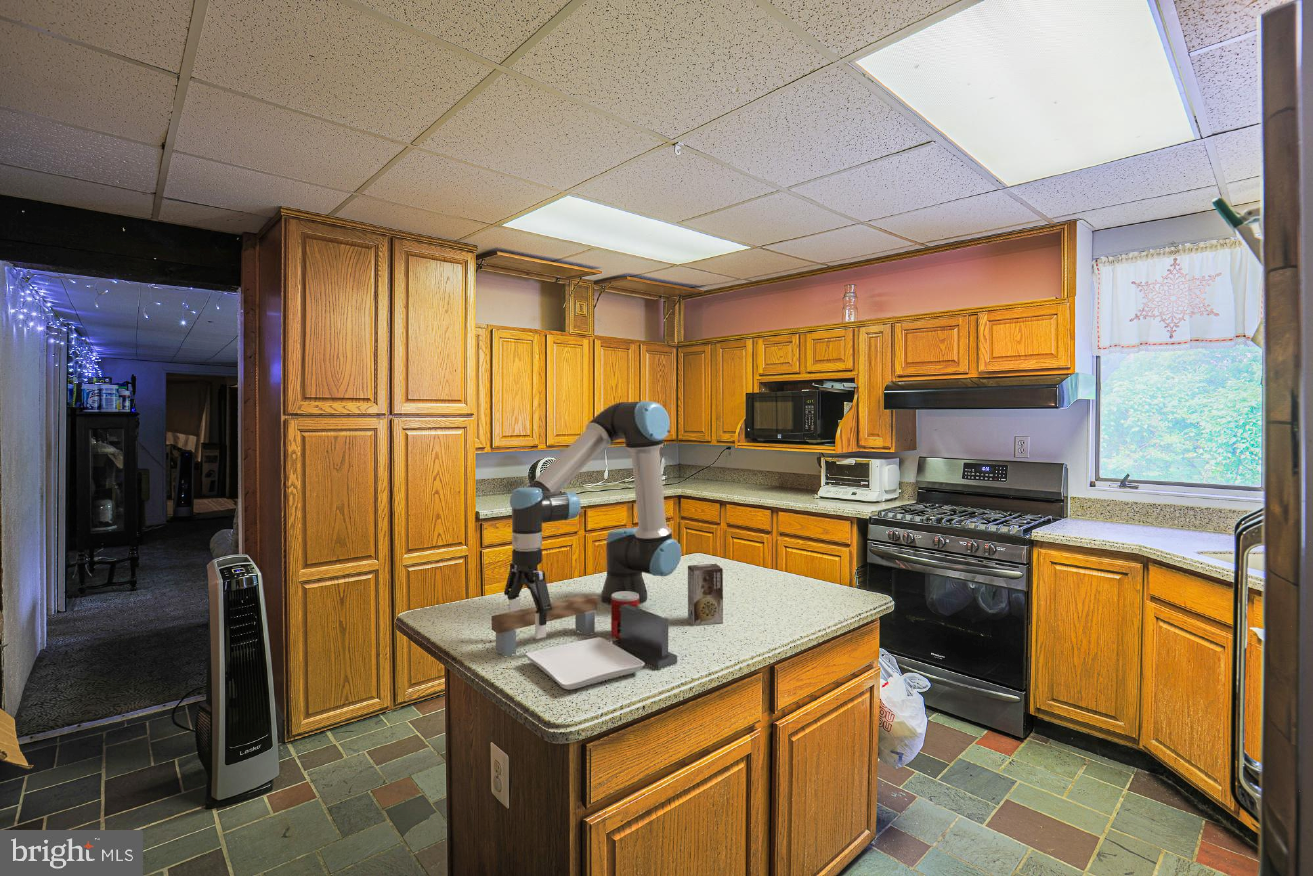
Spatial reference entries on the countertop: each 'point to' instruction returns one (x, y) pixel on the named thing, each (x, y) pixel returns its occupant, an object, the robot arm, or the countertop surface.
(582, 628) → the support blocks
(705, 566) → the coffee box
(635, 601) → the canned food
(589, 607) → the walnut bar
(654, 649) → the ridge
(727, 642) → the countertop surface
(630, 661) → the salad plate
